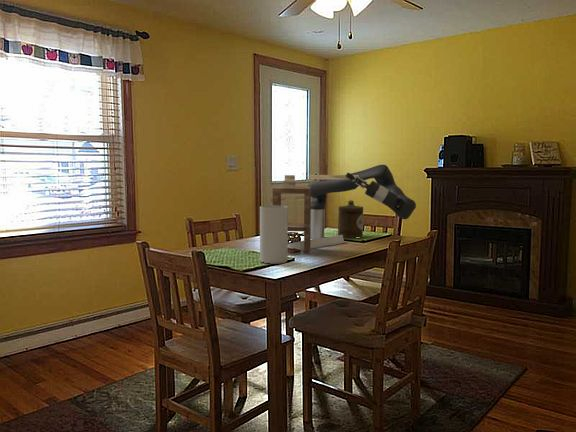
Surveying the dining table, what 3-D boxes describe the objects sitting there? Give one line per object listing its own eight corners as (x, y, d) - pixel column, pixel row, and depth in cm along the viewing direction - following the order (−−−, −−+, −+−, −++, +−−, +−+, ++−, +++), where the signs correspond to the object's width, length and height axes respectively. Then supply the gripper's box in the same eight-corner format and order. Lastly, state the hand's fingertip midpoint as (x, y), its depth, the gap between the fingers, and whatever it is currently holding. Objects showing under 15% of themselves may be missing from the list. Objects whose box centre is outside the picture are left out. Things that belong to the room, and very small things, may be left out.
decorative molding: (288, 253, 270) (301, 250, 263) (286, 244, 270) (299, 241, 263) (331, 246, 294) (344, 243, 286) (329, 237, 294) (342, 234, 287)
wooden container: (364, 238, 301) (365, 201, 298) (338, 238, 301) (339, 201, 299) (361, 235, 316) (361, 199, 313) (336, 235, 316) (337, 199, 313)
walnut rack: (276, 247, 270) (276, 186, 267) (310, 248, 269) (310, 186, 265) (272, 253, 254) (272, 188, 251) (309, 253, 253) (309, 188, 249)
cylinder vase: (269, 257, 242) (269, 204, 239) (292, 260, 235) (292, 206, 233) (254, 262, 231) (254, 207, 228) (278, 265, 225) (278, 208, 222)
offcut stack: (283, 186, 265) (283, 175, 264) (295, 186, 264) (295, 175, 264) (282, 187, 260) (282, 175, 260) (294, 187, 260) (294, 175, 259)
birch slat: (309, 179, 256) (309, 175, 256) (358, 179, 254) (358, 175, 254) (309, 179, 251) (309, 175, 251) (358, 179, 249) (358, 175, 249)
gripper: (379, 184, 258) (350, 167, 258) (382, 185, 244) (350, 167, 244) (371, 197, 259) (342, 180, 259) (374, 199, 245) (342, 181, 245)
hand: (346, 174), depth 252 cm, fingers closed on birch slat, 4 cm apart
